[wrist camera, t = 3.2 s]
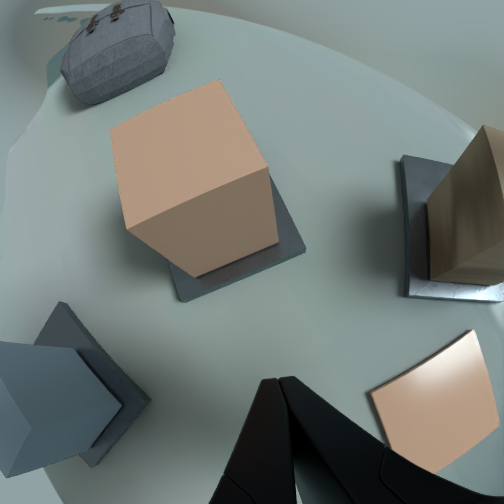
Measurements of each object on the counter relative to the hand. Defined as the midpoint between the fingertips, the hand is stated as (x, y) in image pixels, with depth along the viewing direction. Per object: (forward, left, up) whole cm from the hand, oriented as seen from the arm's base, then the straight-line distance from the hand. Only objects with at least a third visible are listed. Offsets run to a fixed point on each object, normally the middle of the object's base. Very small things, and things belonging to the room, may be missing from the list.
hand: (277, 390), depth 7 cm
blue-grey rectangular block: (-10, +12, -11) cm, 19 cm away
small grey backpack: (+25, +32, -13) cm, 43 cm away
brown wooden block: (+12, -9, -11) cm, 19 cm away
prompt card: (0, -12, -12) cm, 17 cm away
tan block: (+7, +8, -11) cm, 15 cm away
